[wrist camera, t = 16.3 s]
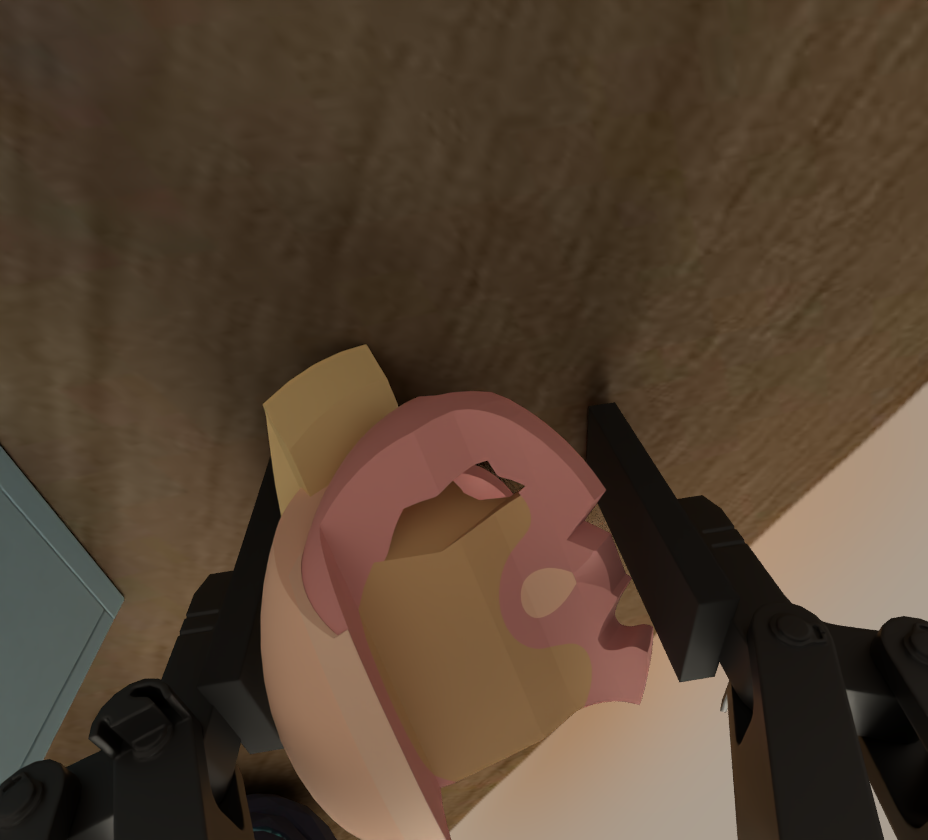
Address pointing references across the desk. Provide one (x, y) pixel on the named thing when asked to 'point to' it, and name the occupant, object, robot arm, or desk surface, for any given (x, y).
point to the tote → (43, 619)
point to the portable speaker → (284, 819)
